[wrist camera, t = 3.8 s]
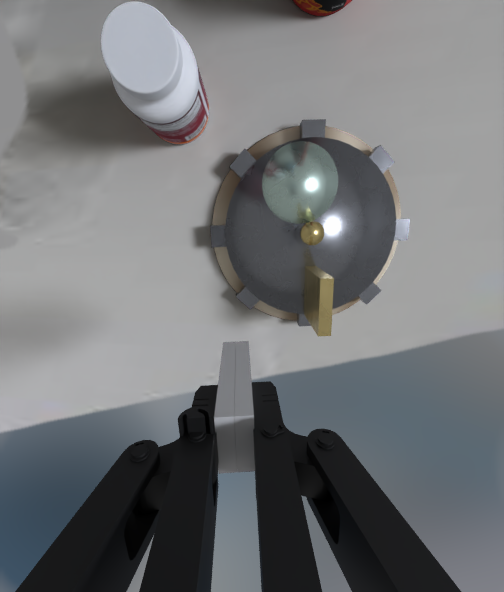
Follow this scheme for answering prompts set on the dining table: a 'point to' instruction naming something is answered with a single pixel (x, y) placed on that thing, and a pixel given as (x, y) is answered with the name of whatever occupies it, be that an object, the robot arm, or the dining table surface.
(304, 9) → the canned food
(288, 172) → the sprocket
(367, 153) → the base
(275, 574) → the robot arm
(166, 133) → the pill bottle
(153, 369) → the dining table surface
